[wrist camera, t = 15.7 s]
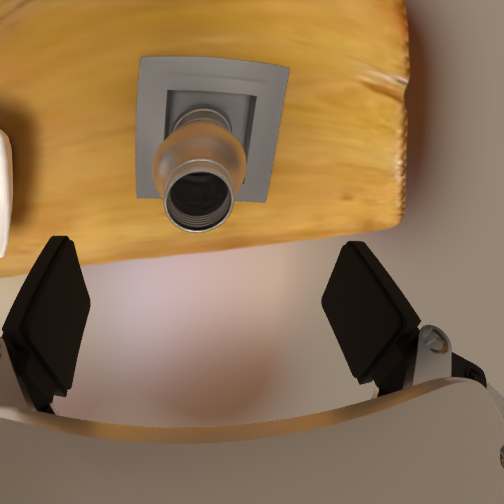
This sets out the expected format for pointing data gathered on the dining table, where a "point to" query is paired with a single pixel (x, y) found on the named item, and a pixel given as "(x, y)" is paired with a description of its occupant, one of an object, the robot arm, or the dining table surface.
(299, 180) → the dining table surface
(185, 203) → the plastic bottle
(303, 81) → the dining table surface
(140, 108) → the gray square tray
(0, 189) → the bowl
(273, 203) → the dining table surface
